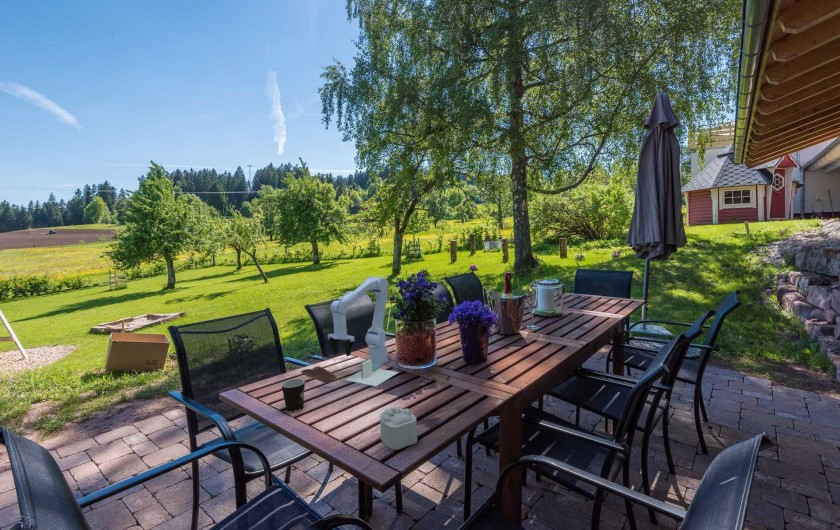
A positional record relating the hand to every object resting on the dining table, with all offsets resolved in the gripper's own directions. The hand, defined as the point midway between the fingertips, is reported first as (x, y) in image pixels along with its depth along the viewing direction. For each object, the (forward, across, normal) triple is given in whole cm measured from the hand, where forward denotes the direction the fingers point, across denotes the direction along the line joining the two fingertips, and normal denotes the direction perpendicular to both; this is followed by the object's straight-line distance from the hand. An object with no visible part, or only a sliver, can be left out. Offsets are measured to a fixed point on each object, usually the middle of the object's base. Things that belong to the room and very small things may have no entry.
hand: (342, 354), depth 181 cm
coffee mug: (+10, +5, -33) cm, 34 cm away
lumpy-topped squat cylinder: (+10, +53, -35) cm, 64 cm away
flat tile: (+10, +8, +10) cm, 17 cm away
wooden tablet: (+11, -10, -4) cm, 15 cm away
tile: (+10, +11, +3) cm, 15 cm away
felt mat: (+10, +13, +4) cm, 17 cm away
